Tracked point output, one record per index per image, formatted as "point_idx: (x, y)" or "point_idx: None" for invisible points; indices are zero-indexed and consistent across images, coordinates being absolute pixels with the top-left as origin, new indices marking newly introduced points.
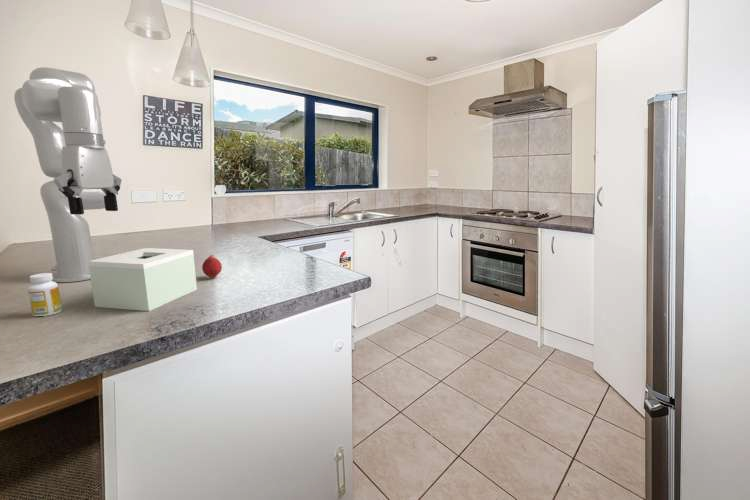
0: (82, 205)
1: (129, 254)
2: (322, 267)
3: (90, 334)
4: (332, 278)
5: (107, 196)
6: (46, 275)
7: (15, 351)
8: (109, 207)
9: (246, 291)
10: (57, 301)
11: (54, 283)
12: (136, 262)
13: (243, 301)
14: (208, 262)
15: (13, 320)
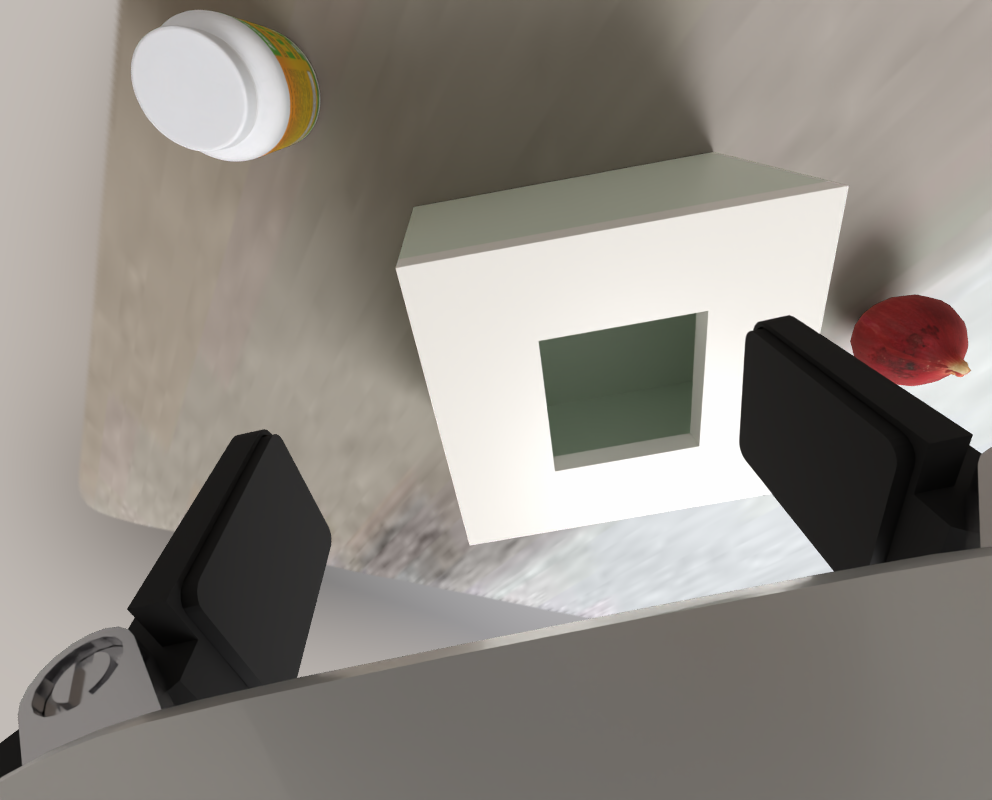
0: (303, 621)
1: (622, 306)
2: None
3: None
4: None
5: (881, 514)
6: (207, 148)
7: (107, 385)
8: (763, 408)
9: (705, 523)
10: (284, 147)
11: (261, 143)
12: (482, 501)
13: (618, 566)
14: (897, 367)
15: (143, 35)
